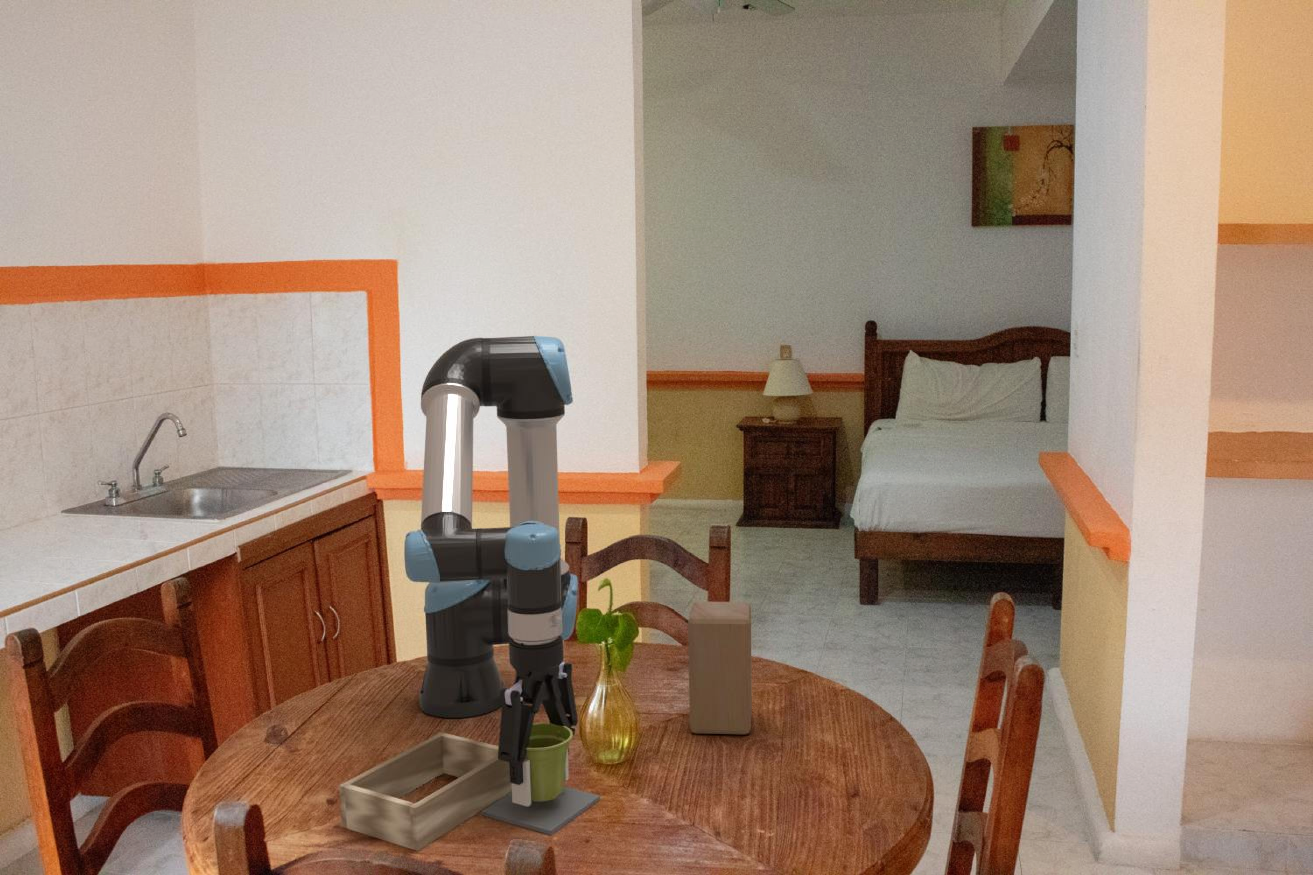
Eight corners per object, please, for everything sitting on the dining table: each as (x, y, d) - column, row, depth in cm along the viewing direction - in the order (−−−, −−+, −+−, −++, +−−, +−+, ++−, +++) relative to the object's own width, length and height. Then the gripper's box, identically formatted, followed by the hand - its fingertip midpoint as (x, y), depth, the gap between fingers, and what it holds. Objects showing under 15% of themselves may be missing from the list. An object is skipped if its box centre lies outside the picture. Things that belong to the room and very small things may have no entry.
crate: (341, 826, 159) (339, 785, 158) (443, 769, 176) (441, 731, 176) (417, 850, 152) (415, 808, 151) (515, 788, 169) (514, 749, 169)
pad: (481, 815, 161) (481, 811, 161) (533, 782, 171) (533, 778, 171) (551, 835, 155) (551, 830, 155) (600, 799, 165) (600, 795, 165)
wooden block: (751, 713, 197) (750, 600, 194) (750, 736, 187) (749, 618, 184) (693, 712, 198) (691, 599, 195) (689, 735, 188) (687, 617, 185)
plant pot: (501, 785, 166) (498, 727, 164) (563, 774, 169) (562, 717, 168) (516, 812, 157) (514, 752, 156) (582, 800, 160) (580, 741, 159)
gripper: (510, 663, 149) (516, 827, 152) (600, 619, 167) (604, 767, 170) (465, 654, 153) (472, 815, 156) (558, 613, 171) (562, 757, 174)
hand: (541, 790), depth 163 cm, fingers closed on plant pot, 8 cm apart
